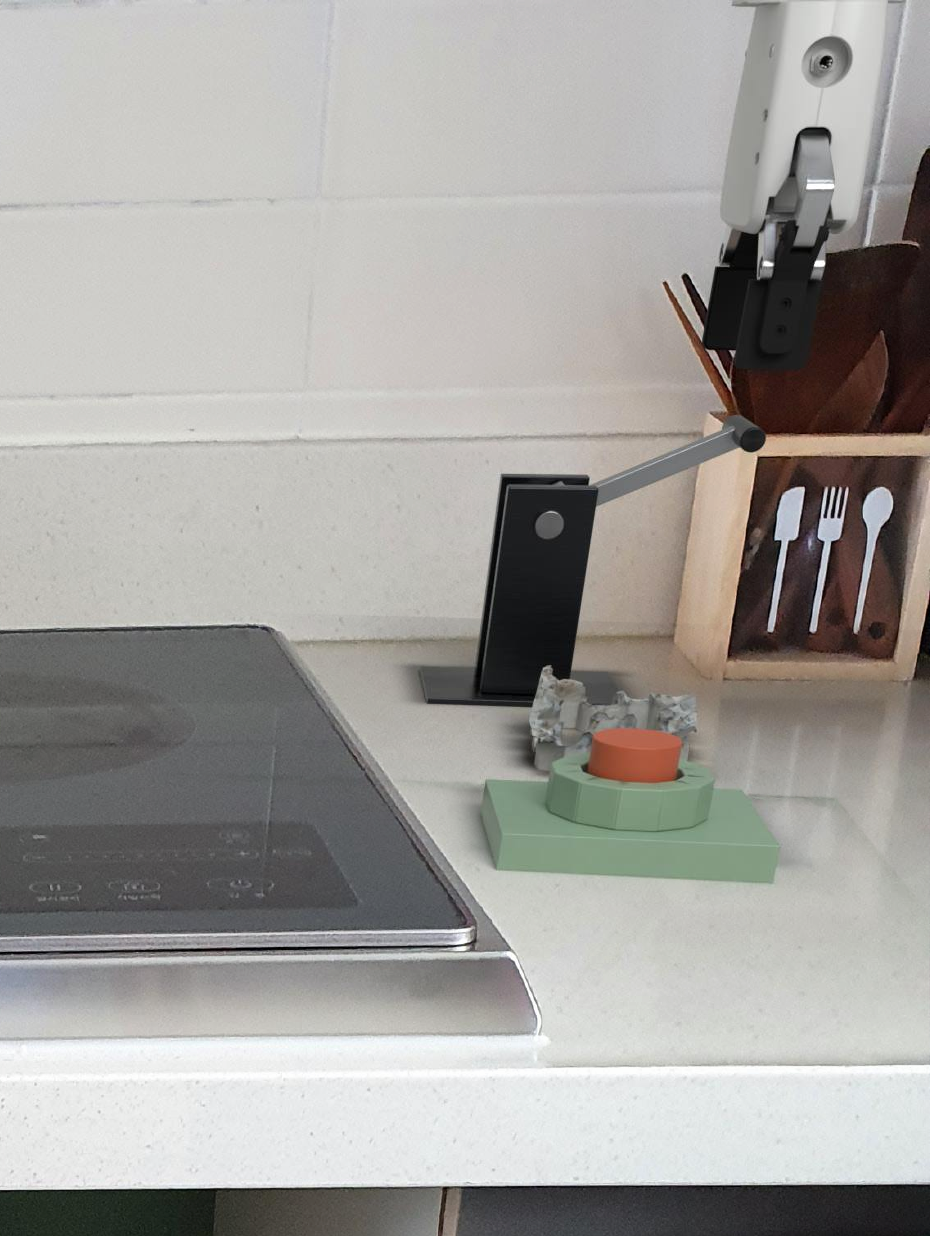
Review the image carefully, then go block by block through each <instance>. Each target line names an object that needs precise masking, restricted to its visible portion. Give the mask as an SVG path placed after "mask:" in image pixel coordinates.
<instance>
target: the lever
mask: <svg viewBox="0 0 930 1236" xmlns="http://www.w3.org/2000/svg"><path fill="white" fill-rule="evenodd" d="M766 442H767V435H766V432H765V431H764V430H763V429H762V428H761V427H759V426H757V425H756V424H754V423H753V422H752V421H750V420H749V419H747V418H746V417H744V416H743V415H739V414H732V415H730V416H729V417H727V418H726V419H725V420H724V421H723V423H722V425H721V430H718V431H716V432H713V433H711V434H708V435H706V436H704V437H701V438H699V439H697V440H695V441H692V442H690V443H687V444H685V445H683V446H680V447H677V448H675V449H673V450H671V451H668V452H666V453H663V454H661V455H659V456H656V457H653V458H652V459H648V460H646V461H644V462H642V463H640V464H637V465H635V466H632V467H630V468H628V469H625V470H623V471H620V472H618V473H615V474H613V475H610V476H608V477H605V478H603V479H601V480H598V481H596V482H594V483H591V484H589V486H597V488H598V489H599V491H598V497H597V504H596V508H597V507H599V506H601V505H604V504H607V503H610V502H612V501H613V500H616V499H619V498H621V497H623V496H626V495H628V494H630V493H633V492H635V491H637V490H640V489H642V488H645V487H648V486H650V485H653V484H654V483H657V482H659V481H662V480H664V479H667V478H669V477H672V476H675V475H677V474H679V473H681V472H684V471H686V470H689V469H692V468H693V467H696V466H698V465H701V464H703V463H705V462H708V461H711V460H712V459H715V458H717V457H720V456H723V455H724V454H725V455H726V454H727V453H729V452H732V451H735V450H737V449H739V448H740V449H741V450H742V451H744V452H745V453H751V454H752V453H757V452H759V451H760V450H761V449H762V448H763V447H764V445H765V444H766ZM552 485H564V483H563V482H562V481H559V482H557V483H555V484H552Z"/></svg>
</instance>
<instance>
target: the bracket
mask: <svg viewBox="0 0 930 1236" xmlns="http://www.w3.org/2000/svg"><path fill="white" fill-rule="evenodd" d="M590 480H591V478H590V475H588V474H573V473H571V474H568V473H567V474H565V473H564V474H563V473H562V474H561V473H559V474H558V473H557V474H556V473H500V477H499V483H498V484H499V485H498V491H497V500H496V507H495V514H494V521H493V529H492V537H491V542H490V543H491V545H490V551H489V559H488V567H487V573H486V582H485V588H484V597H483V604H482V612H481V618H480V619H481V620H480V628H479V635H478V641H477V649H476V657H475V663H474V667H463V666H462V667H459V666H457V667H456V666H431V665H429V666H427V665H426V666H425V665H421V666H419V675H420V676H419V677H420V681H421V684H422V688H423V693H424V697H425V701H426V704H427V705H449V706H450V705H453V706H477V707H478V706H481V707H507V708H508V707H509V708H510V707H511V708H532V707H533V702H534V699H535V696H536V692H537V689H538V684H539V680H540V676H541V673H542V670H543V668H544V667H545V666H547V665H548V666H549V665H551V668H552V669H553V672H552V676H554V677H555V678H556V679H558V680H559V681H560V680H562V679H570V680H576V681H578V682H581V683H583V684H584V686H585V690H586V696H587V700H586V702H588V703H589V704H591V705H593V706H598V705H604V706H608V705H611V704H612V701H613V696H614V695H615V694H616V693H617V692H618V691H620V690H619V689H618V687H617V685H616V683H615V682H614V680H613V678H612V676H611V675H610V673H609V671H597V670H596V671H594V670H592V671H591V670H590V671H589V670H572V669H573V662H574V655H575V648H576V641H577V635H578V629H579V621H580V615H581V610H582V609H581V608H582V603H583V595H584V590H585V583H586V574H587V569H588V563H589V555H590V550H591V544H592V537H593V535H592V534H593V530H594V523H595V518H596V510H597V507H596V504H597V497H598V491H599V489H598V488H597V486H589V485H590ZM559 481H562V482H563V483H564V485H552V484H555V483H557V482H559Z"/></svg>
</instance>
